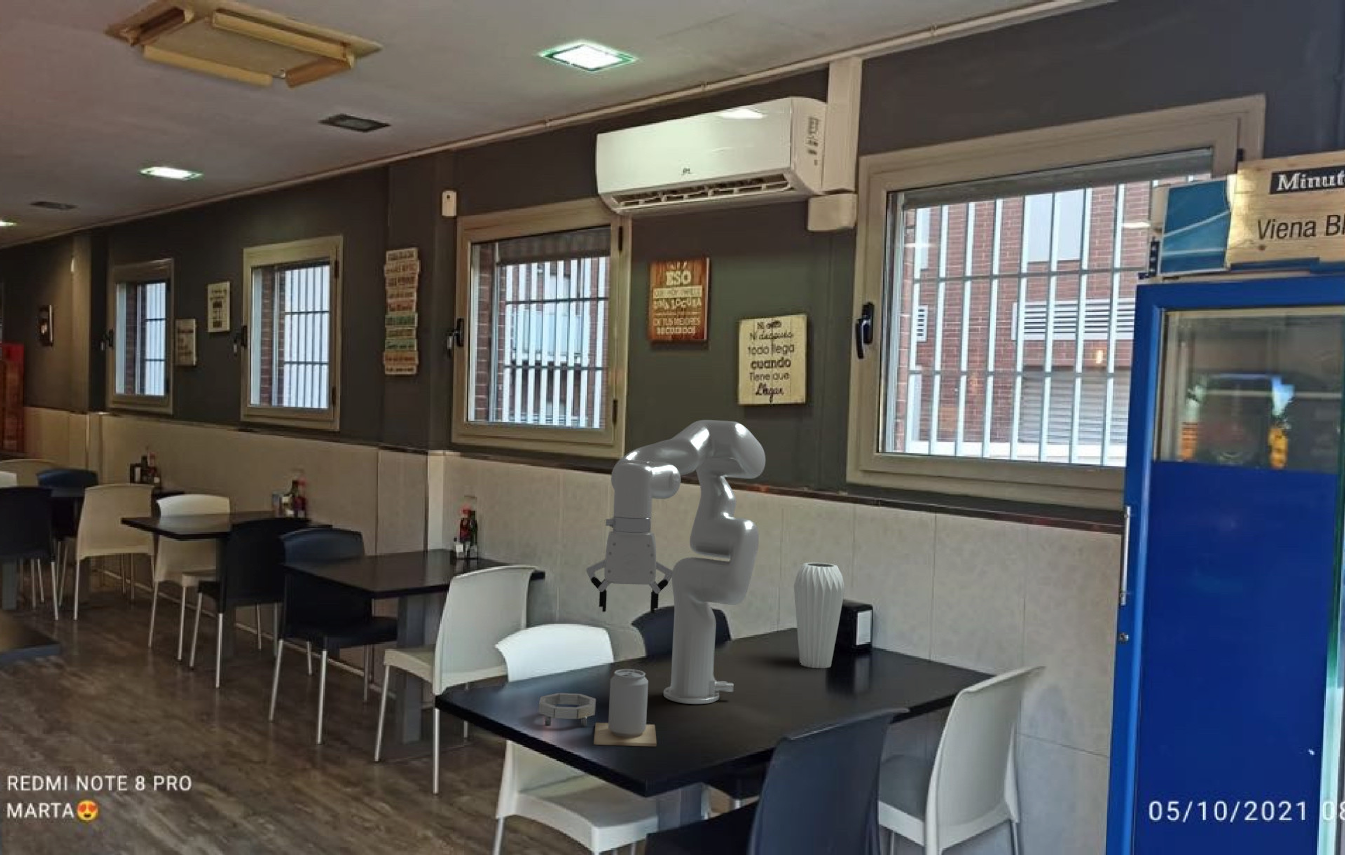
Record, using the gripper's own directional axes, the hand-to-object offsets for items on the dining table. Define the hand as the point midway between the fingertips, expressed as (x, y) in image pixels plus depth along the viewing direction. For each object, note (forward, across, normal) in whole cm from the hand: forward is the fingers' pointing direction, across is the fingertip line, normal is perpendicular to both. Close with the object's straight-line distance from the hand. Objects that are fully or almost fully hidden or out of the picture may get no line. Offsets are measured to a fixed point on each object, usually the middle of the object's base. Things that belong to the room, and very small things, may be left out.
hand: (628, 611), depth 208 cm
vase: (+26, +52, +63) cm, 85 cm away
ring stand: (+24, -12, +7) cm, 28 cm away
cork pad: (+24, 0, -2) cm, 24 cm away
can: (+24, +1, -2) cm, 24 cm away
